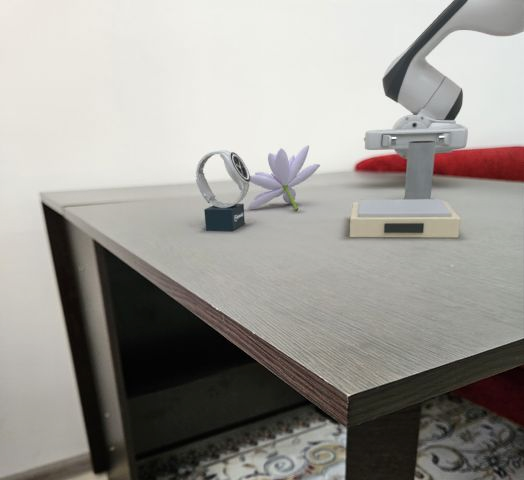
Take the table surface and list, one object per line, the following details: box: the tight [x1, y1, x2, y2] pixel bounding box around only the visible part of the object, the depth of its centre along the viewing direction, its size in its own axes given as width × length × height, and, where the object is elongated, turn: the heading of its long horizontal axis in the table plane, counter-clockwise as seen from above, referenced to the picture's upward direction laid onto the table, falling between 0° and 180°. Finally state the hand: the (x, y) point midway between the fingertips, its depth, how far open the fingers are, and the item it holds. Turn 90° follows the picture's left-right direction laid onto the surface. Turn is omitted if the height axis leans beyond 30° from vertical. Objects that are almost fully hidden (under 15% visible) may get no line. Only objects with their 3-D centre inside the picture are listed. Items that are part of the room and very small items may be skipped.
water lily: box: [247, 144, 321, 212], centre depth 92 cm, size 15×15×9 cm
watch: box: [195, 150, 251, 232], centre depth 78 cm, size 6×8×11 cm
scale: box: [349, 198, 461, 239], centre depth 75 cm, size 14×14×3 cm
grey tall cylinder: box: [403, 141, 436, 200], centre depth 92 cm, size 4×4×10 cm
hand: (417, 140), depth 101 cm, fingers open, 8 cm apart
